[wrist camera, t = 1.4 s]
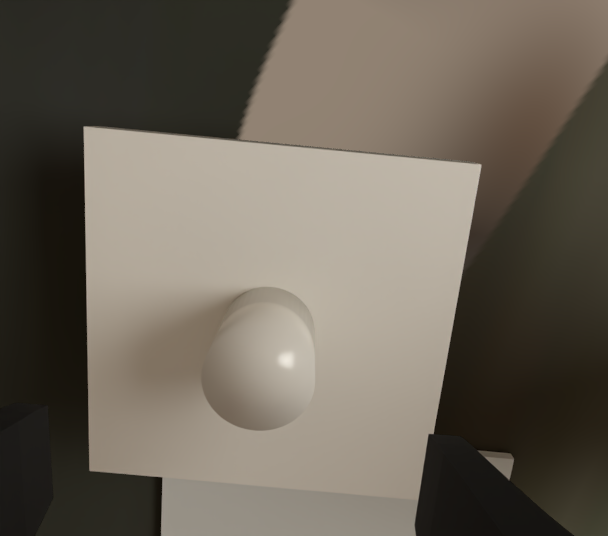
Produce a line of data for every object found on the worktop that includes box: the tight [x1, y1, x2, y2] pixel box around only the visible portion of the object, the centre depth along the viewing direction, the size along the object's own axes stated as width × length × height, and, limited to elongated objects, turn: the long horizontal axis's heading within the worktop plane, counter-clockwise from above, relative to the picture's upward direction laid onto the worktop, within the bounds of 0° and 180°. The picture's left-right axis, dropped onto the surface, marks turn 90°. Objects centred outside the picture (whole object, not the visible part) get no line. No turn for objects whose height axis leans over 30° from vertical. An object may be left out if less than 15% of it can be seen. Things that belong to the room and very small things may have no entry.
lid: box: [84, 126, 481, 500], centre depth 15 cm, size 11×11×4 cm
